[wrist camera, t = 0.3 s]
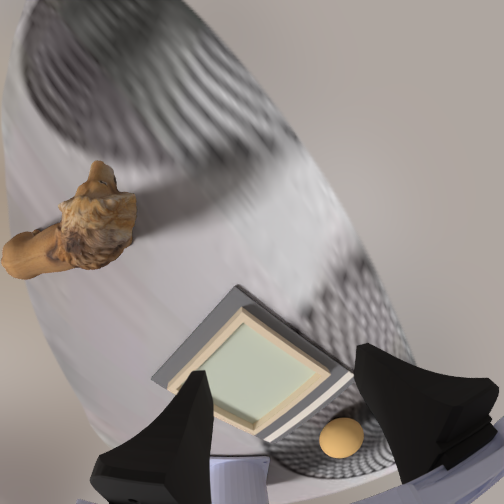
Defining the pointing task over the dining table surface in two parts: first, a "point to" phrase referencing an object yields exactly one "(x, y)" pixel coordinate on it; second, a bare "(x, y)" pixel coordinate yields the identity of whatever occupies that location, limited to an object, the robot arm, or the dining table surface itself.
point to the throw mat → (256, 369)
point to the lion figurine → (77, 231)
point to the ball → (341, 437)
